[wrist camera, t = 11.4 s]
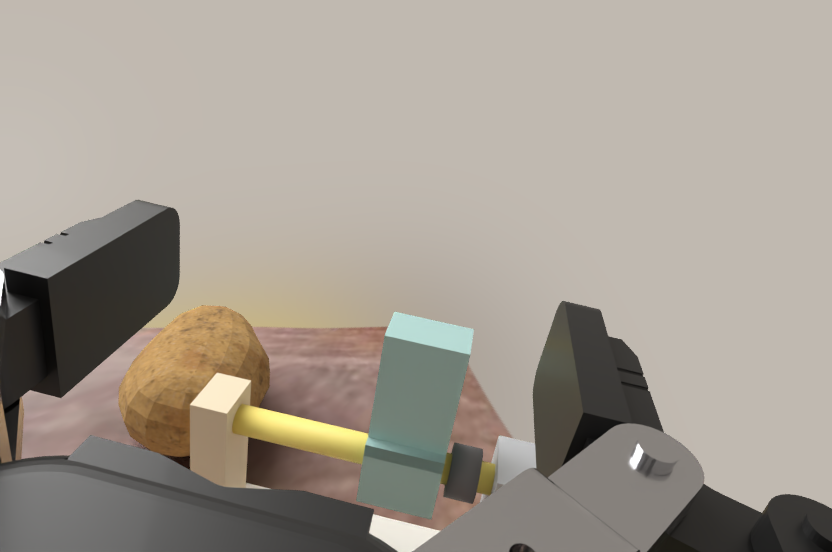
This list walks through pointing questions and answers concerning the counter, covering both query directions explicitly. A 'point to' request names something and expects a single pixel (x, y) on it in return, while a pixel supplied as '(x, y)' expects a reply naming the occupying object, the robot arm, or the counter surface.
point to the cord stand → (329, 452)
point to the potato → (188, 374)
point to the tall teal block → (413, 413)
